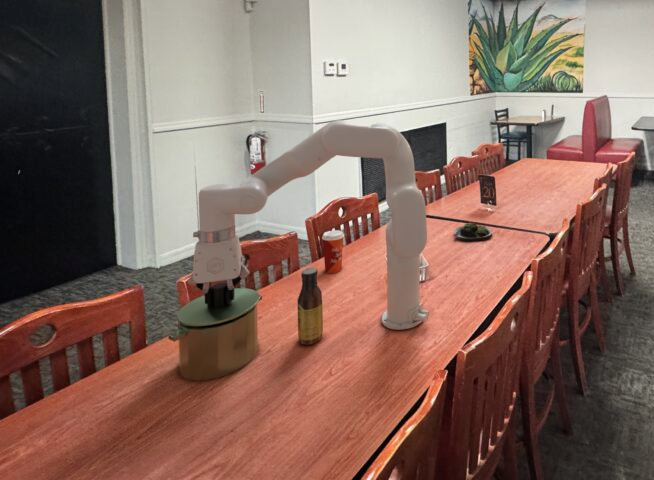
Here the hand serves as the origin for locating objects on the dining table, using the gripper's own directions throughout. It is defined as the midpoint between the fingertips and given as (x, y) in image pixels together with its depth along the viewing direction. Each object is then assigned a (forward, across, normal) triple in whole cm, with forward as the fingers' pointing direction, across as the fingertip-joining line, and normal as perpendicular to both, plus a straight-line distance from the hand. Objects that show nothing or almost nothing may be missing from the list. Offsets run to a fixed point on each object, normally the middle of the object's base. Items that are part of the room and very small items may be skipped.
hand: (220, 303), depth 114 cm
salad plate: (+16, +84, +66) cm, 108 cm away
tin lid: (+1, 0, 0) cm, 1 cm away
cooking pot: (+14, 0, 0) cm, 14 cm away
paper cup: (+15, +25, +47) cm, 55 cm away
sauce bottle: (+15, +21, +1) cm, 26 cm away
